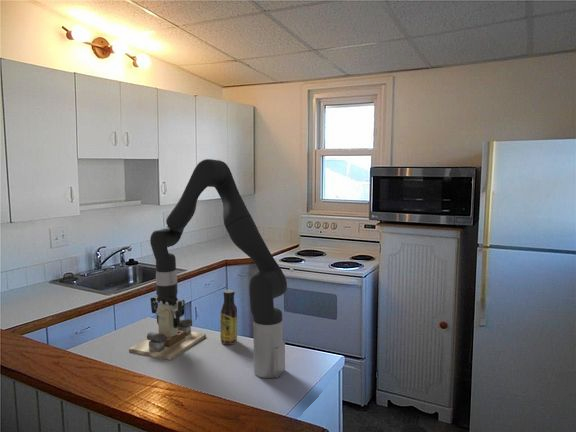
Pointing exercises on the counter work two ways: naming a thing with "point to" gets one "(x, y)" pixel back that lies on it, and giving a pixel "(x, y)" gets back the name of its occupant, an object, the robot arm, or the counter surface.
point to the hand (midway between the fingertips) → (168, 325)
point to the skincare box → (167, 320)
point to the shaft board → (168, 342)
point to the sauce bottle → (228, 319)
